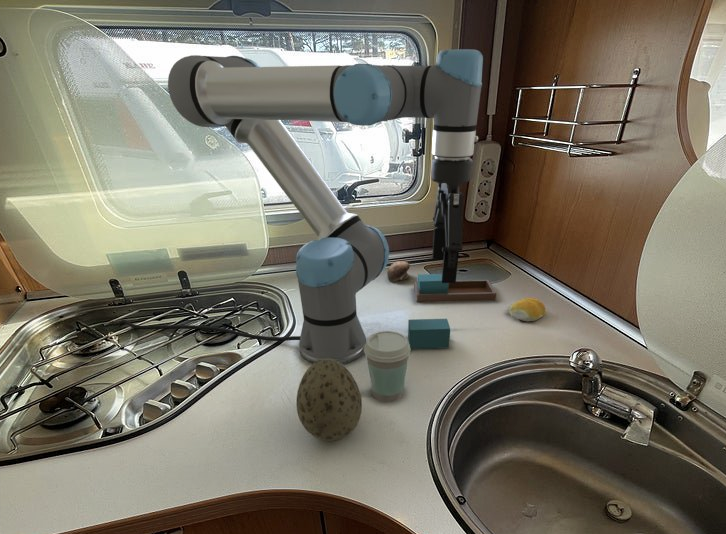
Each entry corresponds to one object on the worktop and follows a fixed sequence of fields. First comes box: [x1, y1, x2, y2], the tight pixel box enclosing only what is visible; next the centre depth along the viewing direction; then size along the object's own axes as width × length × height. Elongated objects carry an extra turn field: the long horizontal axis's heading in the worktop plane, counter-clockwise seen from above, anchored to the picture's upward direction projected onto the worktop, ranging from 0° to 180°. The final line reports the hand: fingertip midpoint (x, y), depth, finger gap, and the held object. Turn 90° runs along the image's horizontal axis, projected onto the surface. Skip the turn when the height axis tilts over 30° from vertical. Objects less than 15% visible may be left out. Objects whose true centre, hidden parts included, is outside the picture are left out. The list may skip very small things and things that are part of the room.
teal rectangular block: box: [407, 318, 451, 350], centre depth 97 cm, size 9×5×5 cm, turn 91°
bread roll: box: [508, 297, 547, 322], centre depth 108 cm, size 8×9×4 cm
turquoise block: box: [417, 273, 449, 294], centre depth 118 cm, size 8×5×5 cm, turn 91°
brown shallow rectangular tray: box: [413, 279, 497, 303], centre depth 119 cm, size 22×10×2 cm, turn 91°
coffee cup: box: [363, 330, 412, 403], centre depth 79 cm, size 8×8×12 cm
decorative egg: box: [295, 358, 363, 442], centre depth 70 cm, size 11×11×15 cm
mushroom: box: [386, 260, 411, 283], centre depth 128 cm, size 8×8×6 cm
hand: (443, 269), depth 90 cm, fingers open, 13 cm apart
